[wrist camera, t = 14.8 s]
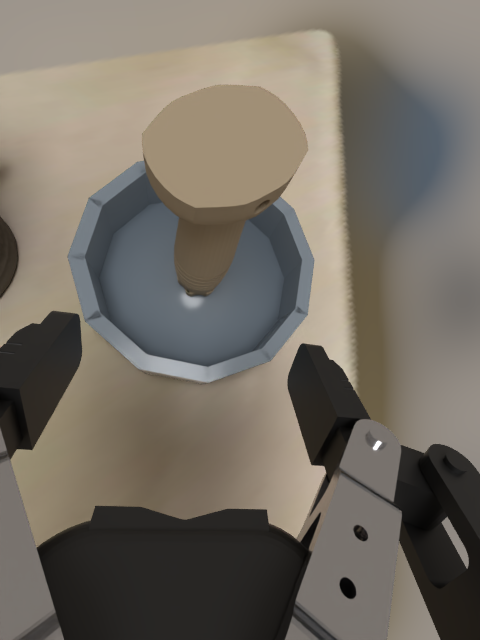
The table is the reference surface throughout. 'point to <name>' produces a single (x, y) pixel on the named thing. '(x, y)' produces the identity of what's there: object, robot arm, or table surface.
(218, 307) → the bowl
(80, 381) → the table surface
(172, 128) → the handle
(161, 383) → the table surface
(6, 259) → the beer stein
